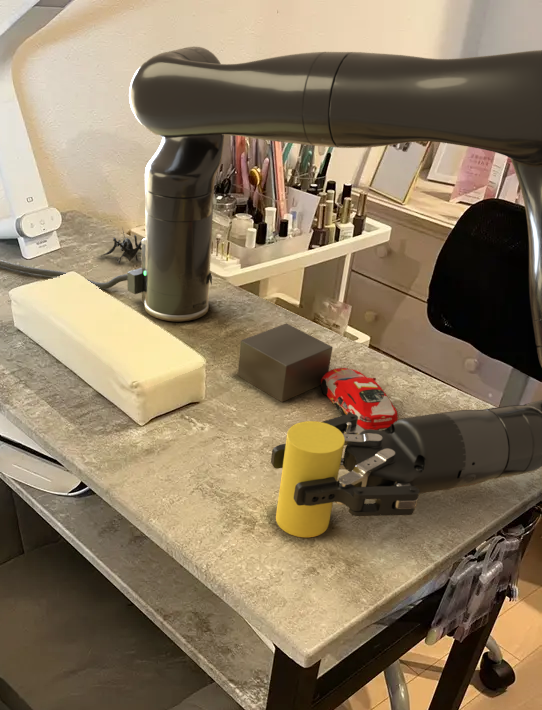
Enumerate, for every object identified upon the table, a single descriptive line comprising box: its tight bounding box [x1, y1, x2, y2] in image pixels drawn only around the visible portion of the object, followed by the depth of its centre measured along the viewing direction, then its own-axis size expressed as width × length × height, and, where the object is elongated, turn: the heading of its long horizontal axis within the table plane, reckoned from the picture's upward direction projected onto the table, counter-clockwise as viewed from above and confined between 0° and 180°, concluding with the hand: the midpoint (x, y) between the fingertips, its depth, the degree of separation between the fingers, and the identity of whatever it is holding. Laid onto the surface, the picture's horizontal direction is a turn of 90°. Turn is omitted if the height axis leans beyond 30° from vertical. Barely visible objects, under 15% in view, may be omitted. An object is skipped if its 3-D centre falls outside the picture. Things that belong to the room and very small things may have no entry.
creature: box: [100, 227, 145, 264], centre depth 126 cm, size 8×5×8 cm
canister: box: [275, 420, 345, 538], centre depth 73 cm, size 5×5×10 cm
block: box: [237, 322, 334, 403], centre depth 96 cm, size 8×8×5 cm
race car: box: [320, 367, 399, 430], centre depth 91 cm, size 13×5×4 cm, turn 12°
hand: (284, 475), depth 72 cm, fingers closed on canister, 5 cm apart
